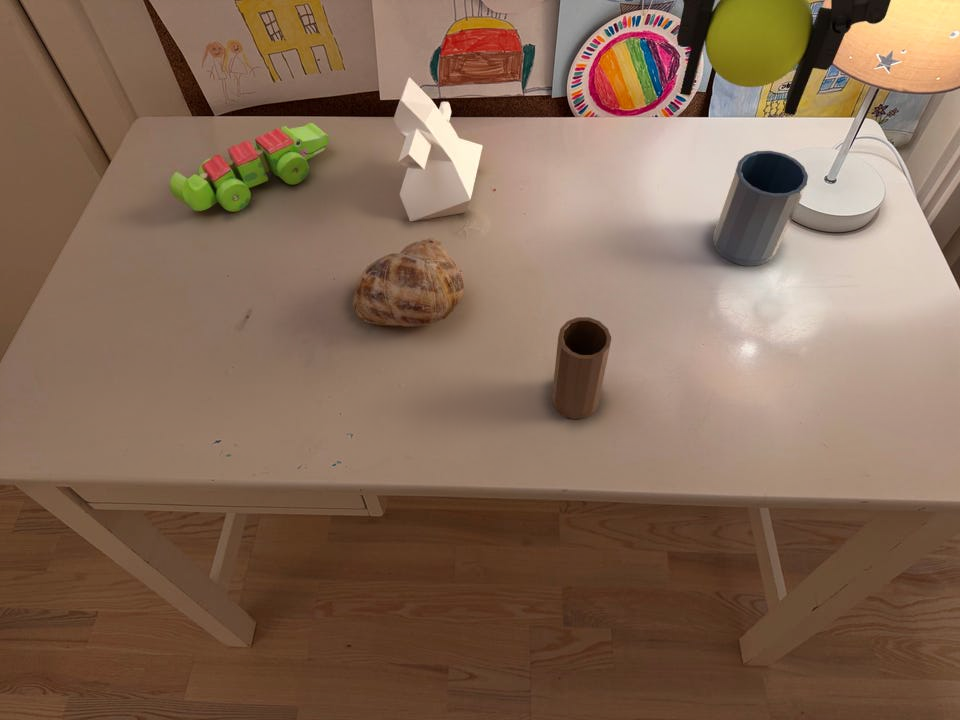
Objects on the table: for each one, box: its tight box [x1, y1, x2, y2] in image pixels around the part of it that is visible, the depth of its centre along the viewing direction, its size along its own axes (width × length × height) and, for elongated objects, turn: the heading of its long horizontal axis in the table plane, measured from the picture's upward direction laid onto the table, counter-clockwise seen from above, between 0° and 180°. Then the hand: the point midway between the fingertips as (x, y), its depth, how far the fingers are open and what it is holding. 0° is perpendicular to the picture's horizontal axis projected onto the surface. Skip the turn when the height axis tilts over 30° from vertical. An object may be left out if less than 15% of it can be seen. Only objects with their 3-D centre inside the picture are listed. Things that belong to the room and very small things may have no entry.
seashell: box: [352, 237, 465, 328], centre depth 72 cm, size 10×9×10 cm
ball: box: [704, 0, 814, 88], centre depth 49 cm, size 7×7×7 cm
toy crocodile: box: [169, 122, 330, 213], centre depth 84 cm, size 20×7×6 cm, turn 127°
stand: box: [551, 316, 612, 420], centre depth 63 cm, size 4×4×10 cm
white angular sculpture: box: [393, 76, 484, 222], centre depth 79 cm, size 8×14×14 cm, turn 171°
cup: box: [712, 150, 809, 267], centre depth 74 cm, size 7×7×10 cm
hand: (739, 93), depth 53 cm, fingers closed on ball, 7 cm apart
